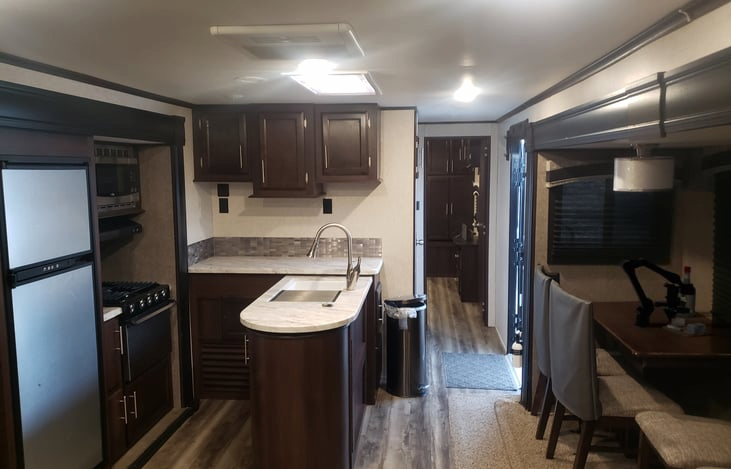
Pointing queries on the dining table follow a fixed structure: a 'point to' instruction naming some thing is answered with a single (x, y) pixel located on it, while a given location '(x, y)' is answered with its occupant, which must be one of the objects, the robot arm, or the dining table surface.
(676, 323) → the push plate
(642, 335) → the dining table surface
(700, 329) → the gauge base
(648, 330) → the dining table surface
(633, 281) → the robot arm
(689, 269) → the liquor
